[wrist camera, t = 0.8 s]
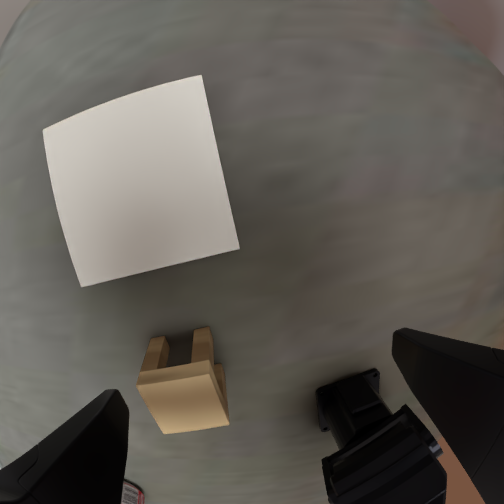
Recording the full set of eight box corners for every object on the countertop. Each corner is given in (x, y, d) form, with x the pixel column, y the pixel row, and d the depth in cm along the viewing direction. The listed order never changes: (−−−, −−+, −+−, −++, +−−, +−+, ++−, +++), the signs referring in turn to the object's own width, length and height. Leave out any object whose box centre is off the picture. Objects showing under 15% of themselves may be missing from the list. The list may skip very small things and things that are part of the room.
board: (238, 245, 21) (239, 248, 20) (86, 282, 20) (81, 287, 19) (201, 79, 18) (201, 74, 17) (49, 131, 17) (42, 130, 16)
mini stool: (224, 374, 24) (229, 424, 18) (170, 384, 23) (163, 434, 17) (209, 326, 22) (209, 373, 16) (150, 338, 22) (135, 385, 16)
